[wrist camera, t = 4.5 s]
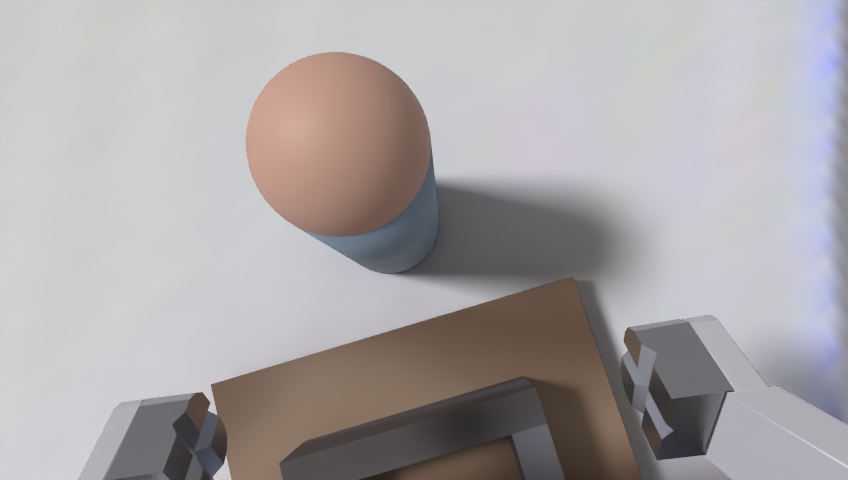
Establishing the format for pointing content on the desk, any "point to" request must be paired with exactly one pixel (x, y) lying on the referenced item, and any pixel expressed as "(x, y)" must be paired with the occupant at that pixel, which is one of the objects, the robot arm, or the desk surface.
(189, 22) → the desk surface
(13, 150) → the desk surface
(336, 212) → the peach-tipped grey cylinder
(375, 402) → the jig
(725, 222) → the desk surface
